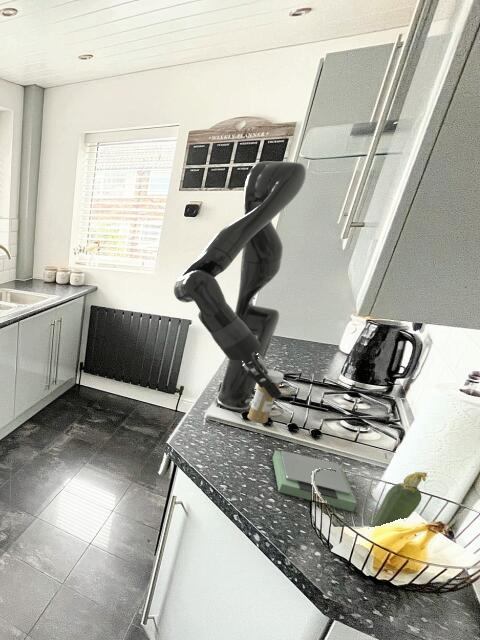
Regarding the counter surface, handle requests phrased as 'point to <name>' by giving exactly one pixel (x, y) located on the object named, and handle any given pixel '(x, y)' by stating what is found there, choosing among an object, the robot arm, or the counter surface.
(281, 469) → the scale
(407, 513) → the vegetable
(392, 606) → the counter surface
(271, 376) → the sprinkles bottle
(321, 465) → the pan
